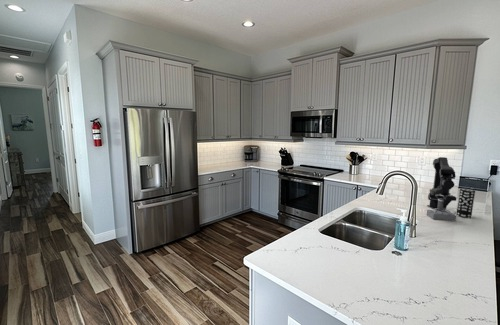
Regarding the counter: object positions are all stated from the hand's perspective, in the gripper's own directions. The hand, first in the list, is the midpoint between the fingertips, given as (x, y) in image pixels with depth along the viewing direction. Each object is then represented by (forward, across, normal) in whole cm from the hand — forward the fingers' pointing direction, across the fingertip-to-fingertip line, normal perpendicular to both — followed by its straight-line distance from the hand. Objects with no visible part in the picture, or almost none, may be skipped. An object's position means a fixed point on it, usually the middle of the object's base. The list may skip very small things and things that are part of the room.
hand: (442, 206), depth 171 cm
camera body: (+8, 0, 0) cm, 8 cm away
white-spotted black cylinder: (+9, -8, +19) cm, 22 cm away
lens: (+2, 0, 0) cm, 2 cm away
